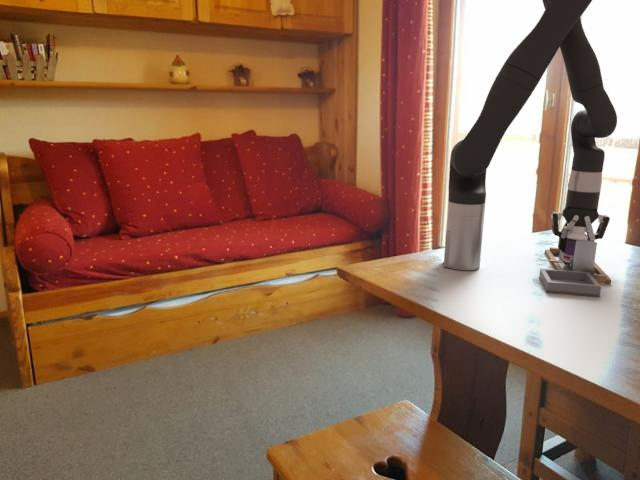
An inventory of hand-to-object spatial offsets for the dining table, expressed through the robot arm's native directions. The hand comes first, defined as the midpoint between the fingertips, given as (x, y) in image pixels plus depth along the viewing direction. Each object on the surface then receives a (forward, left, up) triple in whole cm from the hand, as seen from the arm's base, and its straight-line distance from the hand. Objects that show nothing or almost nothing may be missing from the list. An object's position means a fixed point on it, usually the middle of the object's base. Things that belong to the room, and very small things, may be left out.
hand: (574, 252), depth 136 cm
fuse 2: (0, -9, -4) cm, 10 cm away
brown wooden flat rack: (0, 0, -4) cm, 4 cm away
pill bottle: (0, 0, -3) cm, 3 cm away
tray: (-5, -18, -4) cm, 19 cm away
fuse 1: (0, +8, -4) cm, 9 cm away
